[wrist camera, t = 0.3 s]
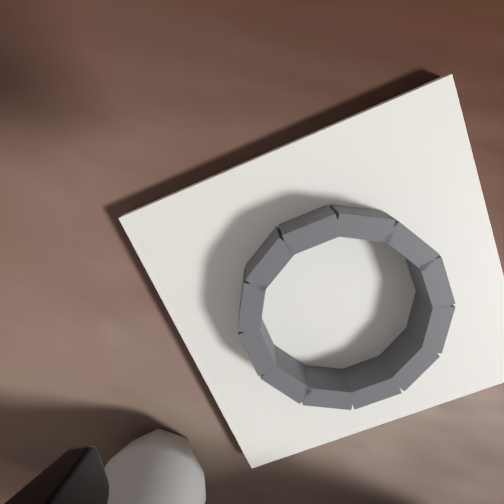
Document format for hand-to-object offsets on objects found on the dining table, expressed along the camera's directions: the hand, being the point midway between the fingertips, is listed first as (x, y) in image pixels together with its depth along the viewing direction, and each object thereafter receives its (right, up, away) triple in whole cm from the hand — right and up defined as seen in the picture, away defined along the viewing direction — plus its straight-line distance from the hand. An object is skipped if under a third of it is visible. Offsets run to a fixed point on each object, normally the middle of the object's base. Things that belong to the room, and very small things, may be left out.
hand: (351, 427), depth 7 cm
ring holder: (+3, +1, +14) cm, 15 cm away
